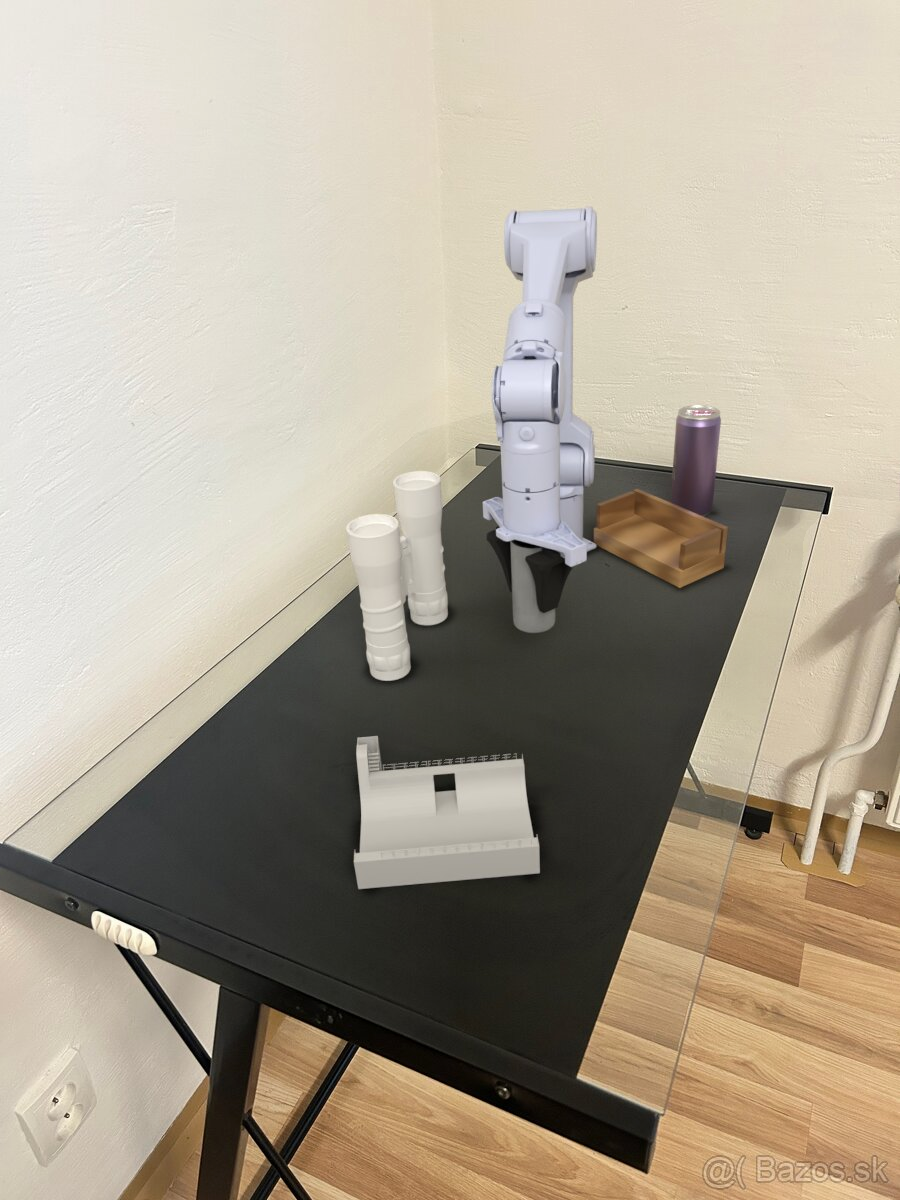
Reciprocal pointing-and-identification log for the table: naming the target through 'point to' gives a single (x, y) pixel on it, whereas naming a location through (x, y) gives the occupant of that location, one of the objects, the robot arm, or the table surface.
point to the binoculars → (400, 571)
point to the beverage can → (695, 458)
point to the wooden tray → (660, 537)
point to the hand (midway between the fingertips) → (533, 599)
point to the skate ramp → (442, 822)
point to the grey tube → (526, 592)
